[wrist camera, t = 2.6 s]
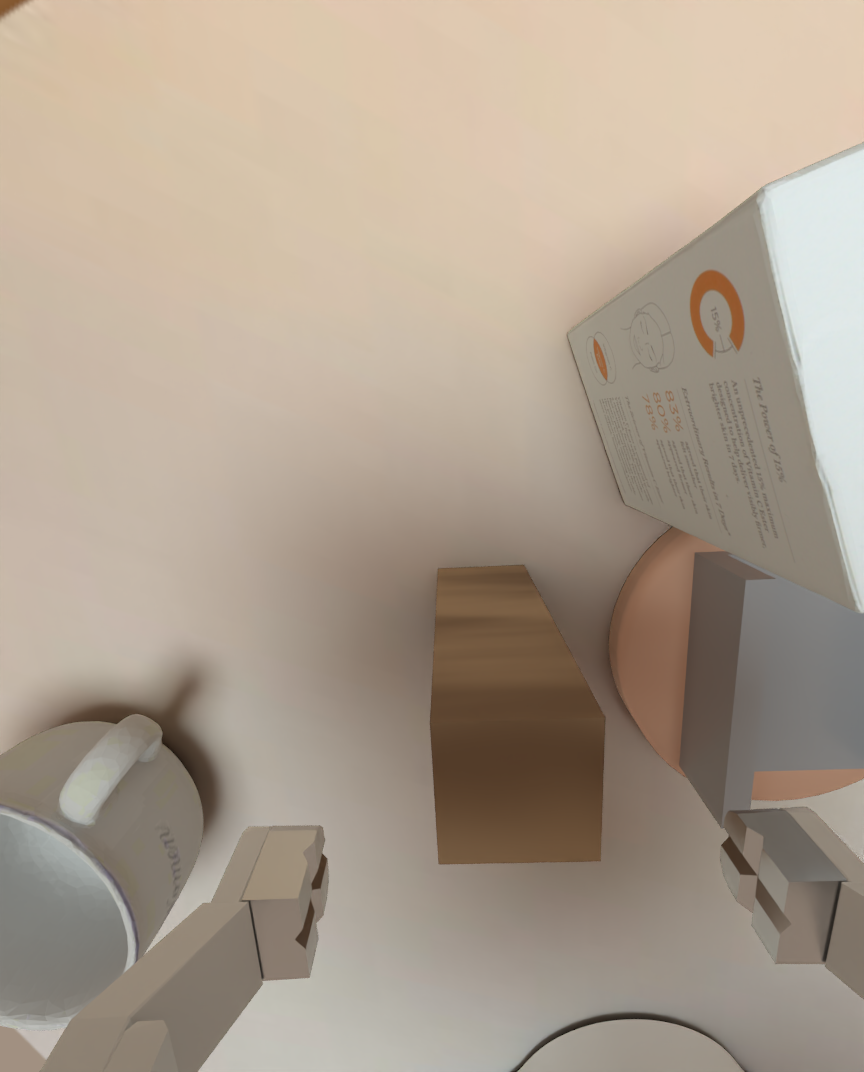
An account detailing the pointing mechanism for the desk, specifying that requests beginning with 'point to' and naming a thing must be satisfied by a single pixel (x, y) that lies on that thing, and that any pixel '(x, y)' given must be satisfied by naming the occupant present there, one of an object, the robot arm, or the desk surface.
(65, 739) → the teacup
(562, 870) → the desk surface
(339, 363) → the desk surface
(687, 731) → the round base with bracket
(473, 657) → the wood grain beam
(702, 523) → the small box
